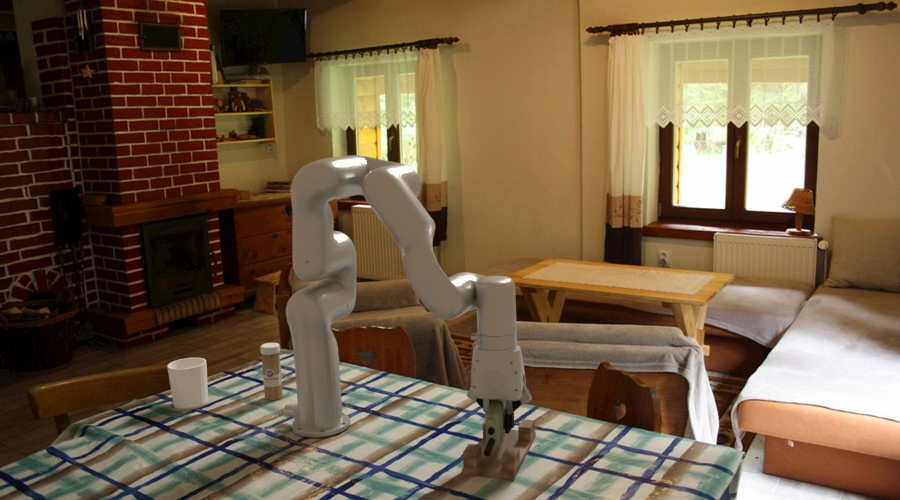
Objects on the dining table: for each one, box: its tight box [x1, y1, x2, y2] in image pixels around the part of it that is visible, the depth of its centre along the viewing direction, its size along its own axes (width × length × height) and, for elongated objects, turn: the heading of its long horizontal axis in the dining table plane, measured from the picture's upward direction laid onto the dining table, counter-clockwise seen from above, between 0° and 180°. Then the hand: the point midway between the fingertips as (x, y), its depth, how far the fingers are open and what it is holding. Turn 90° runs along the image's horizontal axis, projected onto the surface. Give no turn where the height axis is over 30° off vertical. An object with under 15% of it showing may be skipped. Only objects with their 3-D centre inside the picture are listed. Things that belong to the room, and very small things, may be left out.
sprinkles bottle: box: [259, 342, 284, 401], centre depth 191 cm, size 5×5×13 cm
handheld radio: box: [484, 400, 507, 457], centre depth 154 cm, size 7×3×25 cm
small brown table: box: [461, 418, 537, 481], centre depth 155 cm, size 10×20×4 cm, turn 162°
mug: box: [166, 357, 209, 411], centre depth 189 cm, size 11×9×10 cm
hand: (500, 429), depth 154 cm, fingers closed on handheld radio, 2 cm apart
